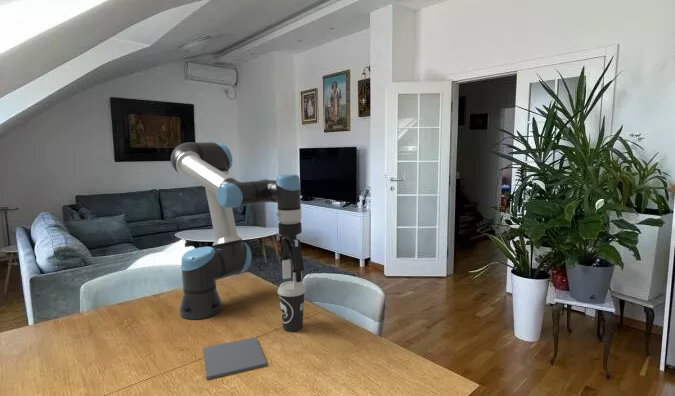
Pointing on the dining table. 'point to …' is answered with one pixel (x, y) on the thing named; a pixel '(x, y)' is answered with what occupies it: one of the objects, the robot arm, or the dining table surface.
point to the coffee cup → (291, 306)
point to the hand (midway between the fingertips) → (292, 284)
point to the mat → (233, 357)
